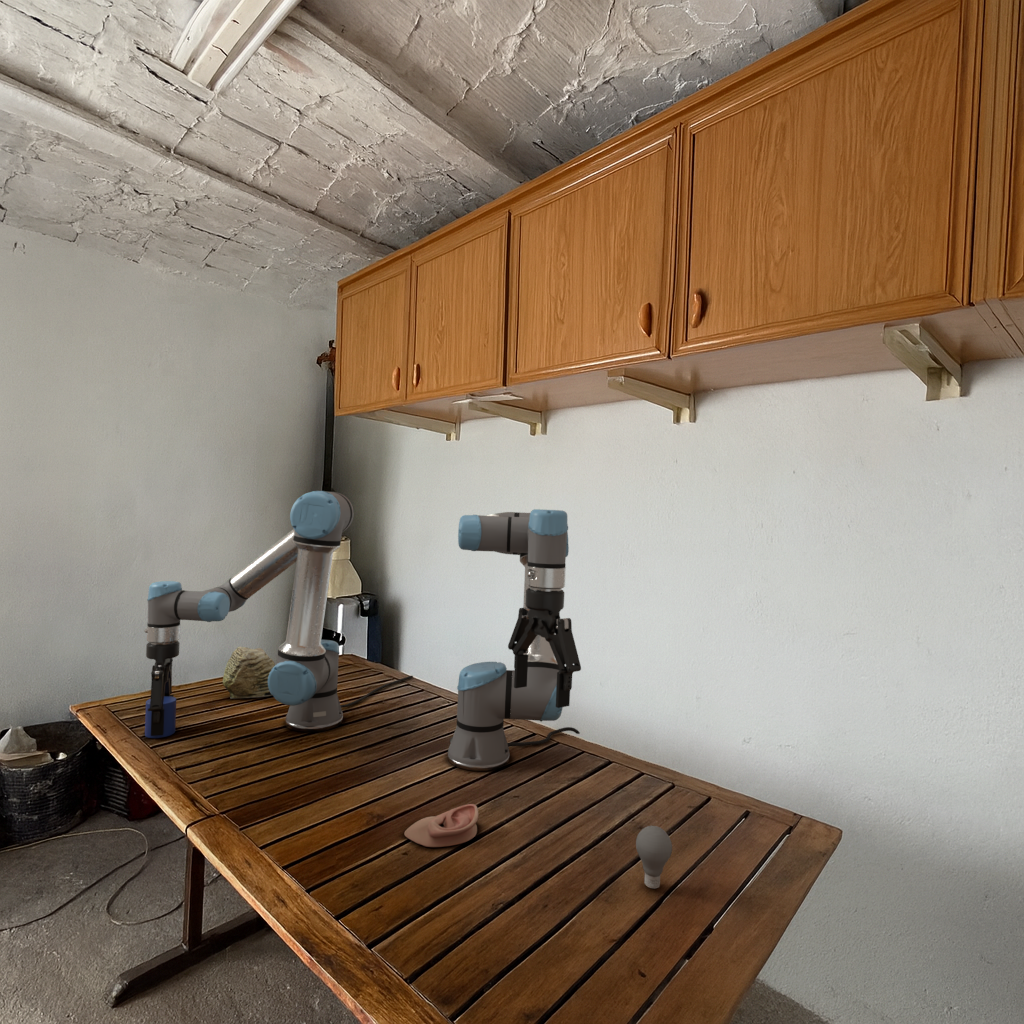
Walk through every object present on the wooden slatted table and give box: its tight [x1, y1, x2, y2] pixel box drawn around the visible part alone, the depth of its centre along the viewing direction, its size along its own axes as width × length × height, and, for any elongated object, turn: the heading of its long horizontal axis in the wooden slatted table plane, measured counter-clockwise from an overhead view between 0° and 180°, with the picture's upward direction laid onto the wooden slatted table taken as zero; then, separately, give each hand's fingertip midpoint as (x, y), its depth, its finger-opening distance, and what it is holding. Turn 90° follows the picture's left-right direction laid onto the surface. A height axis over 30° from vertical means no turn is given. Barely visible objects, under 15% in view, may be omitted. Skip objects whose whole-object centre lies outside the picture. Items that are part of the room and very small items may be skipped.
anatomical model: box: [404, 803, 479, 848], centre depth 121 cm, size 13×4×12 cm
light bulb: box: [635, 825, 673, 889], centre depth 107 cm, size 6×6×10 cm
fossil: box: [222, 646, 276, 699], centre depth 198 cm, size 9×18×15 cm, turn 132°
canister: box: [144, 696, 177, 739], centre depth 164 cm, size 7×7×9 cm
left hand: (160, 729), depth 164 cm, fingers closed on canister, 7 cm apart
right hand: (540, 696), depth 124 cm, fingers open, 13 cm apart
